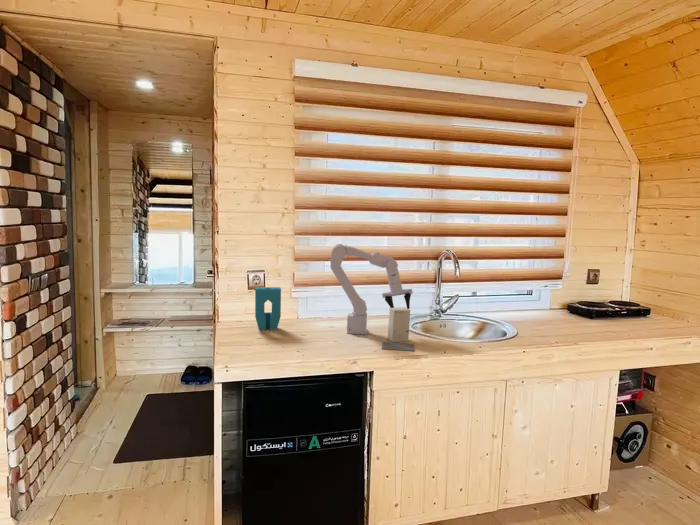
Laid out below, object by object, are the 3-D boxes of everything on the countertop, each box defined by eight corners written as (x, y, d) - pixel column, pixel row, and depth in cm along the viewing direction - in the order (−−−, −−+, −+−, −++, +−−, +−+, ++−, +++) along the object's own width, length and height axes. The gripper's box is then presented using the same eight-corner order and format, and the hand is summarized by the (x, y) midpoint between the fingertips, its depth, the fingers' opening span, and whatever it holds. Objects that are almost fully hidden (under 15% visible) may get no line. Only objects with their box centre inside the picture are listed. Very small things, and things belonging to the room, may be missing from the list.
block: (280, 327, 226) (280, 287, 224) (280, 330, 221) (280, 289, 219) (255, 327, 224) (255, 287, 222) (255, 330, 219) (255, 289, 217)
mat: (381, 349, 197) (381, 348, 197) (382, 342, 207) (382, 341, 207) (414, 351, 196) (414, 350, 196) (413, 344, 205) (413, 343, 205)
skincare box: (392, 342, 207) (393, 310, 205) (387, 338, 213) (388, 307, 211) (409, 341, 210) (410, 309, 208) (403, 337, 215) (405, 306, 213)
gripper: (411, 278, 220) (417, 305, 222) (382, 282, 226) (388, 309, 227) (408, 282, 214) (414, 309, 216) (378, 286, 219) (385, 313, 221)
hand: (400, 309), depth 221 cm, fingers open, 7 cm apart
